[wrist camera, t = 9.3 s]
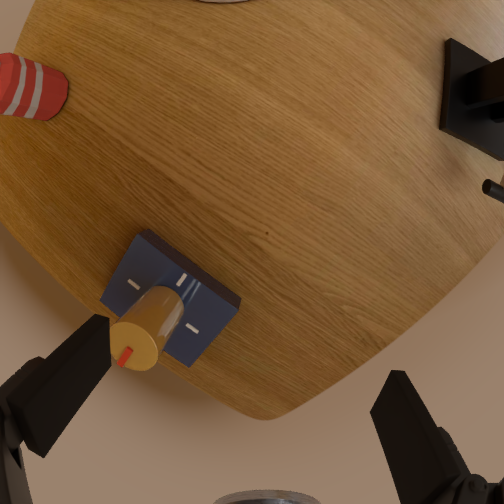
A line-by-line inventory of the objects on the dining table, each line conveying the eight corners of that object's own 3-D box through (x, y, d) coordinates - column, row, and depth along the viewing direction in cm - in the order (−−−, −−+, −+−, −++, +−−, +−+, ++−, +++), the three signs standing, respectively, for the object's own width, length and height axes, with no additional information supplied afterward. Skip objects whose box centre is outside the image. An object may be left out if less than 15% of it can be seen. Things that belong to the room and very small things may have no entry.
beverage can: (32, 91, 27) (-34, 76, 15) (68, 64, 26) (3, 36, 14) (38, 130, 28) (-33, 123, 16) (75, 104, 27) (3, 84, 15)
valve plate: (241, 298, 31) (238, 311, 28) (194, 353, 33) (188, 368, 30) (148, 228, 30) (136, 233, 27) (111, 290, 32) (98, 301, 29)
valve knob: (155, 276, 28) (117, 312, 20) (192, 304, 29) (166, 349, 20) (135, 308, 29) (97, 349, 21) (169, 334, 29) (141, 382, 21)
